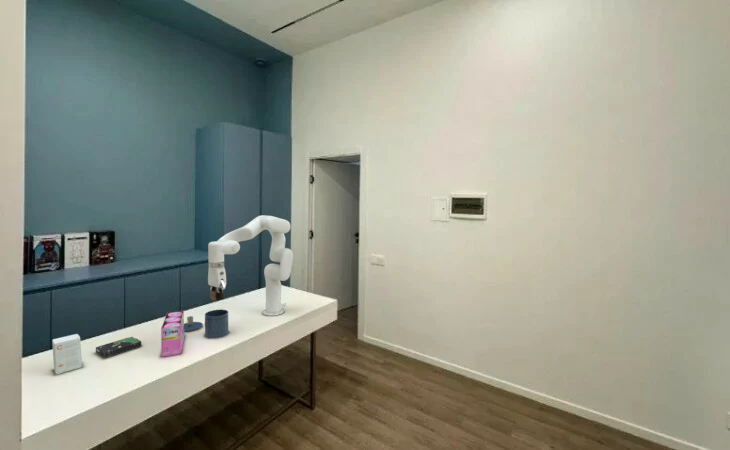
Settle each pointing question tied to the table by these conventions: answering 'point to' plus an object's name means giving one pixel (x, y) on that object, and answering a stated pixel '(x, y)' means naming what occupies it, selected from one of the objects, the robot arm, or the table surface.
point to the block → (213, 295)
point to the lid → (192, 324)
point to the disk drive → (118, 347)
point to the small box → (67, 353)
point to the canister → (216, 323)
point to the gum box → (172, 333)
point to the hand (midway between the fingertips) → (216, 298)
